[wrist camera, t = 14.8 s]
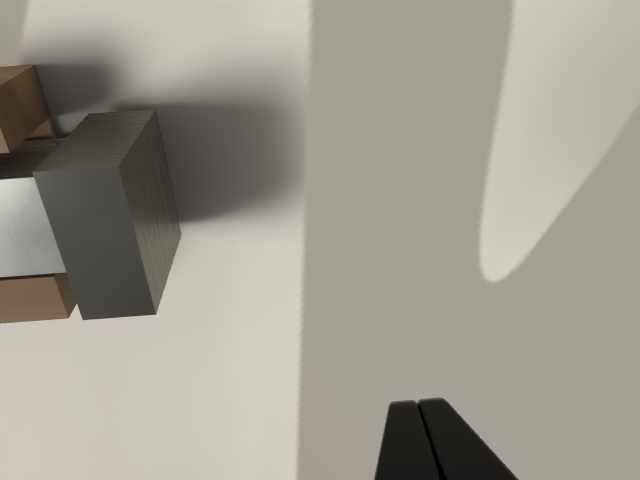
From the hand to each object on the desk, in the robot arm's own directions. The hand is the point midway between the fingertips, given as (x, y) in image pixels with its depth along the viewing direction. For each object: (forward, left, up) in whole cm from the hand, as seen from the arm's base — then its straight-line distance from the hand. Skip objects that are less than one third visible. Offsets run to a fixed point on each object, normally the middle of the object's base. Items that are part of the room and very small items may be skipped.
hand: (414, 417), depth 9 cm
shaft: (0, +11, -11) cm, 16 cm away
